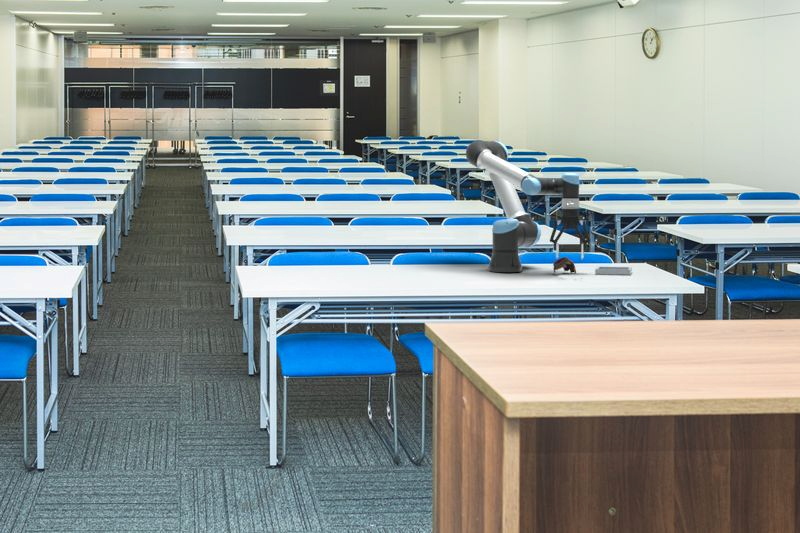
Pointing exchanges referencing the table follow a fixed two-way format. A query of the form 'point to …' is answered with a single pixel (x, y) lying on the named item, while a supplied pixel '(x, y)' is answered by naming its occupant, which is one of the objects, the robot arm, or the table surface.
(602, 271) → the tray
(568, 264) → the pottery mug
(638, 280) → the table surface
